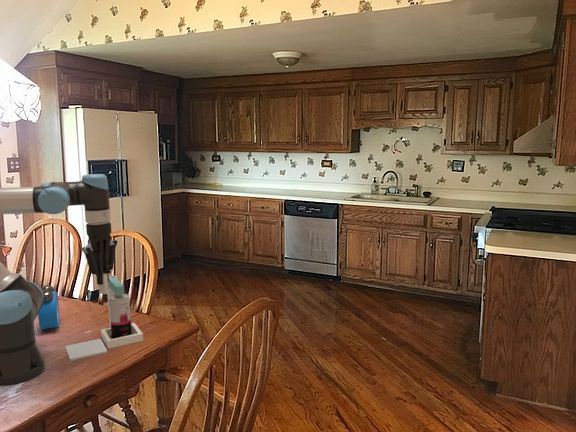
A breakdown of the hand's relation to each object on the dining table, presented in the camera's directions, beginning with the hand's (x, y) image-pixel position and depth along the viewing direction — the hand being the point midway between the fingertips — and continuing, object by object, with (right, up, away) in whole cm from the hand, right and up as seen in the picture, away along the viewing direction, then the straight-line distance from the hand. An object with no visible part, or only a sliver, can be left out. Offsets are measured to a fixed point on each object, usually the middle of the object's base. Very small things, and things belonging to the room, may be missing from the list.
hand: (103, 292), depth 160 cm
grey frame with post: (+2, -16, +9) cm, 19 cm away
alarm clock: (-26, -15, +16) cm, 34 cm away
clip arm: (+1, 0, +8) cm, 8 cm away
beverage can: (+4, -17, +6) cm, 18 cm away
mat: (-5, -18, -2) cm, 19 cm away
